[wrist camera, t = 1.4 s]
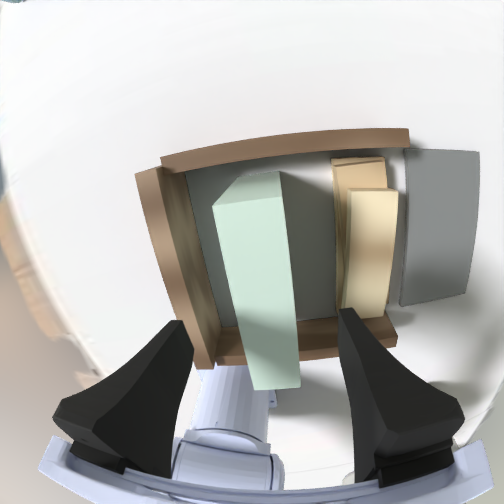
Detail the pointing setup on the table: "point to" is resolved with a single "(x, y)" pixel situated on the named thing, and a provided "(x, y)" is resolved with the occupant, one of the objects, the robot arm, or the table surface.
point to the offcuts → (363, 233)
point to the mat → (439, 223)
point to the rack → (190, 253)
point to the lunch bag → (13, 1)
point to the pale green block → (260, 277)
